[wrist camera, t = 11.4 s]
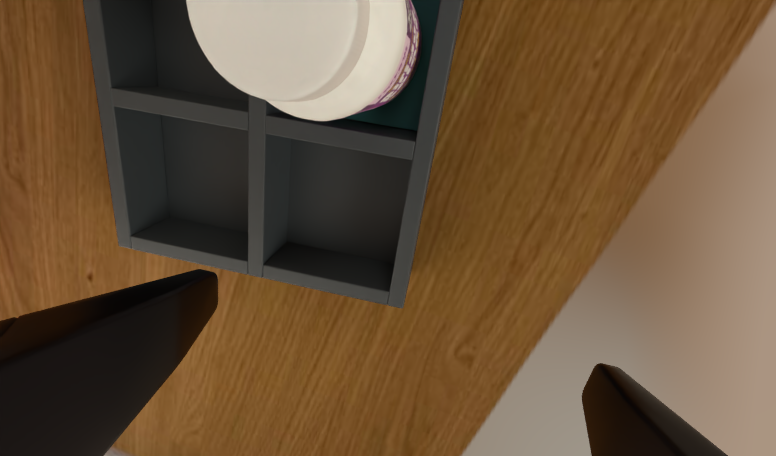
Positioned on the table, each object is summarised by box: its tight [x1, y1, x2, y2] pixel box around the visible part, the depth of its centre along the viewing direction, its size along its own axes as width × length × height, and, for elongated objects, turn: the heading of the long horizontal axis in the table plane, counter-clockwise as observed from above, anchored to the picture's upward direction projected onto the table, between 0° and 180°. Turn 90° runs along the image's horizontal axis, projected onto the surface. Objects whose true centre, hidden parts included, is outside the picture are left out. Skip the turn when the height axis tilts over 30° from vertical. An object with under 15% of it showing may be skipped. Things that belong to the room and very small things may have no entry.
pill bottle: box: [186, 0, 422, 121], centre depth 12 cm, size 5×5×10 cm
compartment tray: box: [83, 0, 464, 308], centre depth 18 cm, size 15×15×4 cm
